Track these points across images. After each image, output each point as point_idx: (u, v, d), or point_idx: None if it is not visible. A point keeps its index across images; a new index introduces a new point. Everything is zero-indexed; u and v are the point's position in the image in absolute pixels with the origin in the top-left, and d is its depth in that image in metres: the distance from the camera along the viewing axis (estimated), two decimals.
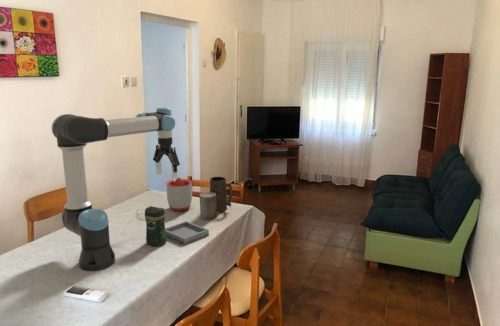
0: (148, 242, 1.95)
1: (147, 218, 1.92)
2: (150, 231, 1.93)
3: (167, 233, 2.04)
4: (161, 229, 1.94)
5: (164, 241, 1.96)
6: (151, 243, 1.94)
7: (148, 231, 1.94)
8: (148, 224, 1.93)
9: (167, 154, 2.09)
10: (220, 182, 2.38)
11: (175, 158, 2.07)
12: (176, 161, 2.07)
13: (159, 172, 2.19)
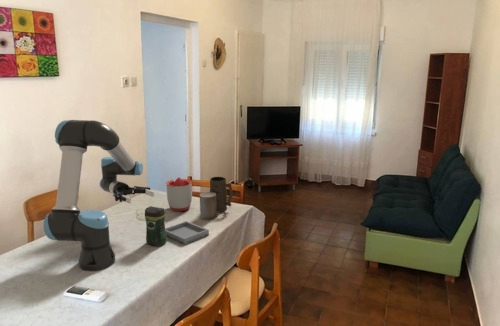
0: (148, 242, 1.95)
1: (147, 218, 1.92)
2: (150, 231, 1.93)
3: (167, 233, 2.04)
4: (161, 229, 1.94)
5: (164, 241, 1.96)
6: (151, 243, 1.94)
7: (148, 231, 1.94)
8: (148, 224, 1.93)
9: (134, 187, 2.11)
10: (220, 182, 2.38)
11: None
12: None
13: None
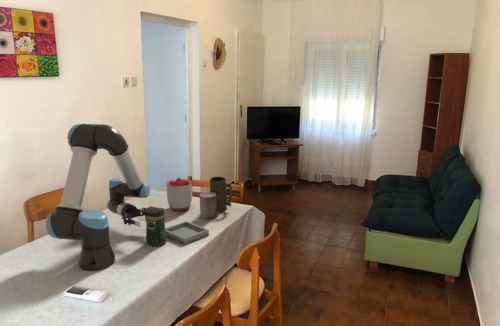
0: (148, 242, 1.95)
1: (147, 218, 1.92)
2: (150, 231, 1.93)
3: (167, 233, 2.04)
4: (161, 229, 1.94)
5: (164, 241, 1.96)
6: (151, 243, 1.94)
7: (148, 231, 1.94)
8: (148, 224, 1.93)
9: (142, 209, 2.10)
10: (220, 182, 2.38)
11: None
12: None
13: None
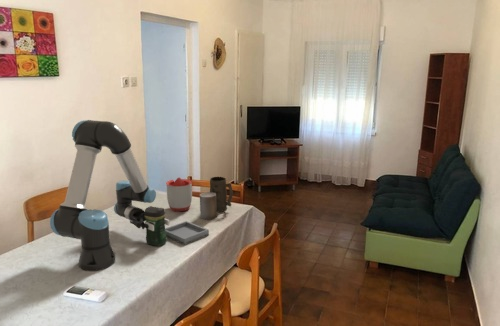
0: (148, 242, 1.95)
1: (147, 218, 1.92)
2: (149, 231, 1.93)
3: (167, 233, 2.04)
4: (161, 229, 1.94)
5: (164, 241, 1.96)
6: (151, 243, 1.94)
7: (148, 231, 1.94)
8: None
9: None
10: (220, 182, 2.38)
11: None
12: None
13: None
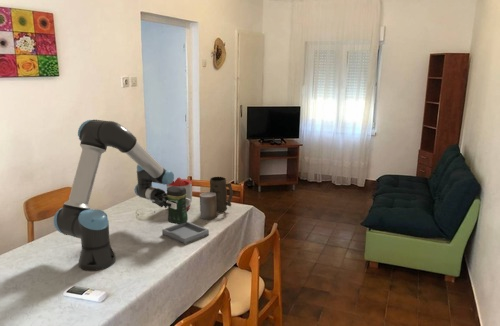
0: (170, 221, 2.01)
1: (169, 197, 1.98)
2: (172, 210, 1.99)
3: (167, 233, 2.04)
4: (183, 208, 2.00)
5: (185, 220, 2.02)
6: (173, 221, 2.00)
7: (170, 210, 2.00)
8: None
9: None
10: (220, 182, 2.38)
11: None
12: None
13: None
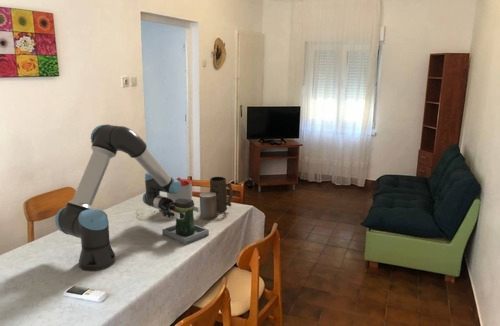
0: (178, 232, 2.04)
1: (177, 209, 2.02)
2: (179, 221, 2.02)
3: (167, 233, 2.04)
4: (190, 219, 2.03)
5: (193, 231, 2.05)
6: (181, 233, 2.04)
7: (177, 222, 2.03)
8: None
9: None
10: (220, 182, 2.38)
11: None
12: None
13: None
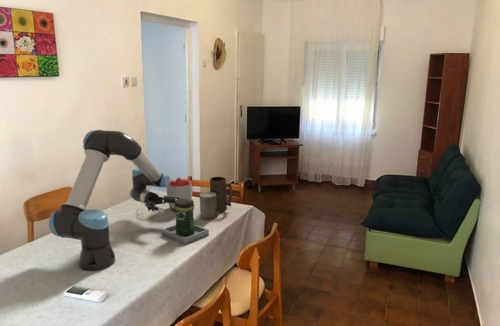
0: (178, 232, 2.04)
1: (177, 209, 2.02)
2: (179, 222, 2.02)
3: (167, 233, 2.04)
4: (191, 219, 2.03)
5: (193, 231, 2.05)
6: (181, 233, 2.04)
7: (177, 222, 2.03)
8: (178, 215, 2.02)
9: (164, 197, 2.21)
10: (220, 182, 2.38)
11: None
12: None
13: None
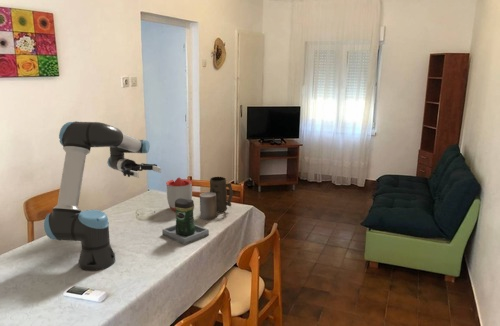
0: (178, 232, 2.04)
1: (177, 209, 2.02)
2: (179, 222, 2.02)
3: (167, 233, 2.04)
4: (191, 219, 2.03)
5: (193, 231, 2.05)
6: (181, 233, 2.04)
7: (177, 222, 2.03)
8: (178, 215, 2.02)
9: (141, 164, 2.17)
10: (220, 182, 2.38)
11: None
12: None
13: None
